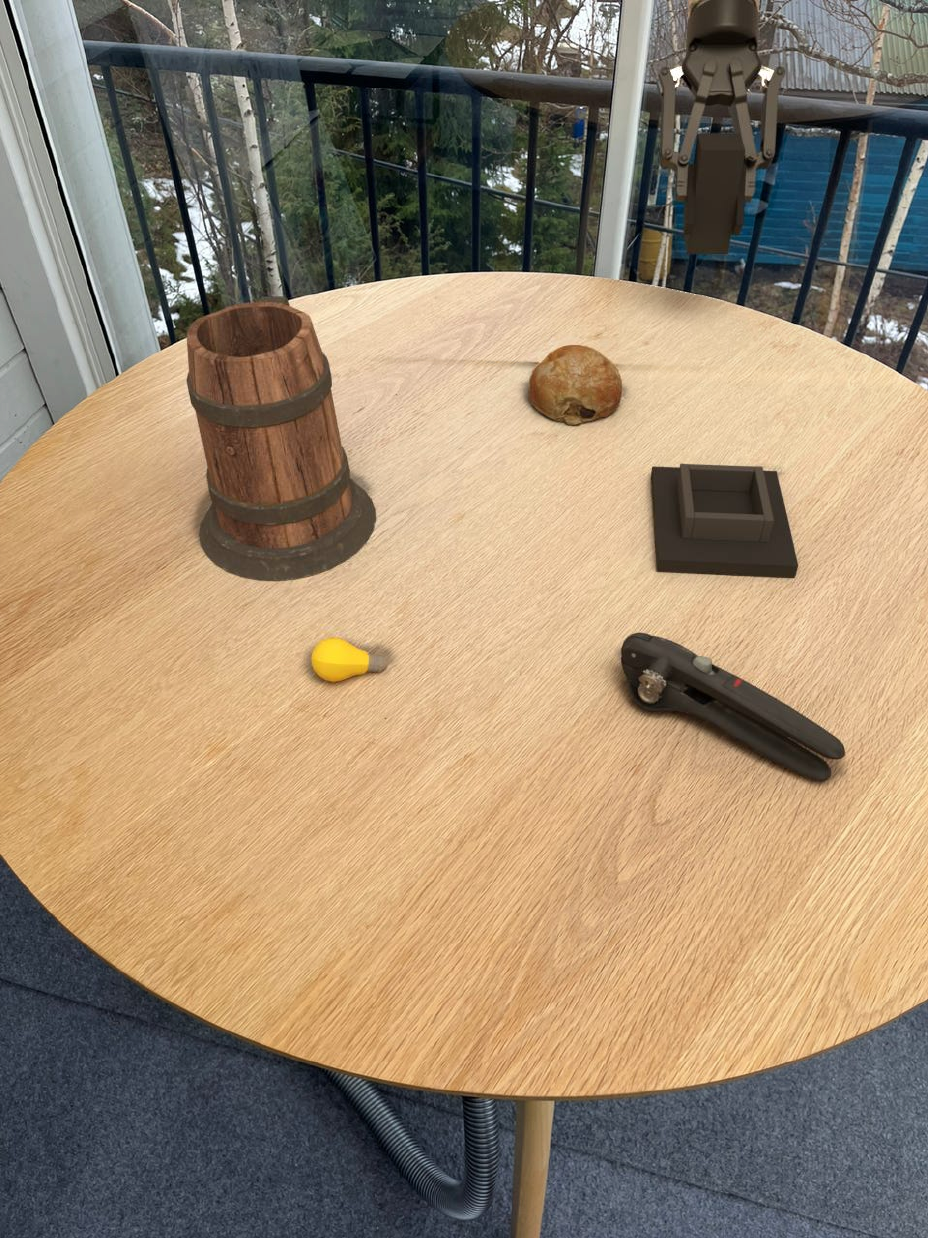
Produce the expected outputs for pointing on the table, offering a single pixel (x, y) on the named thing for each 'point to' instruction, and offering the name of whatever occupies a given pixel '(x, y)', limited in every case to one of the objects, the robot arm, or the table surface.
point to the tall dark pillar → (715, 192)
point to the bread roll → (575, 385)
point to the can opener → (725, 704)
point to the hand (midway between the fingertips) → (712, 229)
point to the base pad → (721, 521)
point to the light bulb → (343, 660)
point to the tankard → (272, 445)
